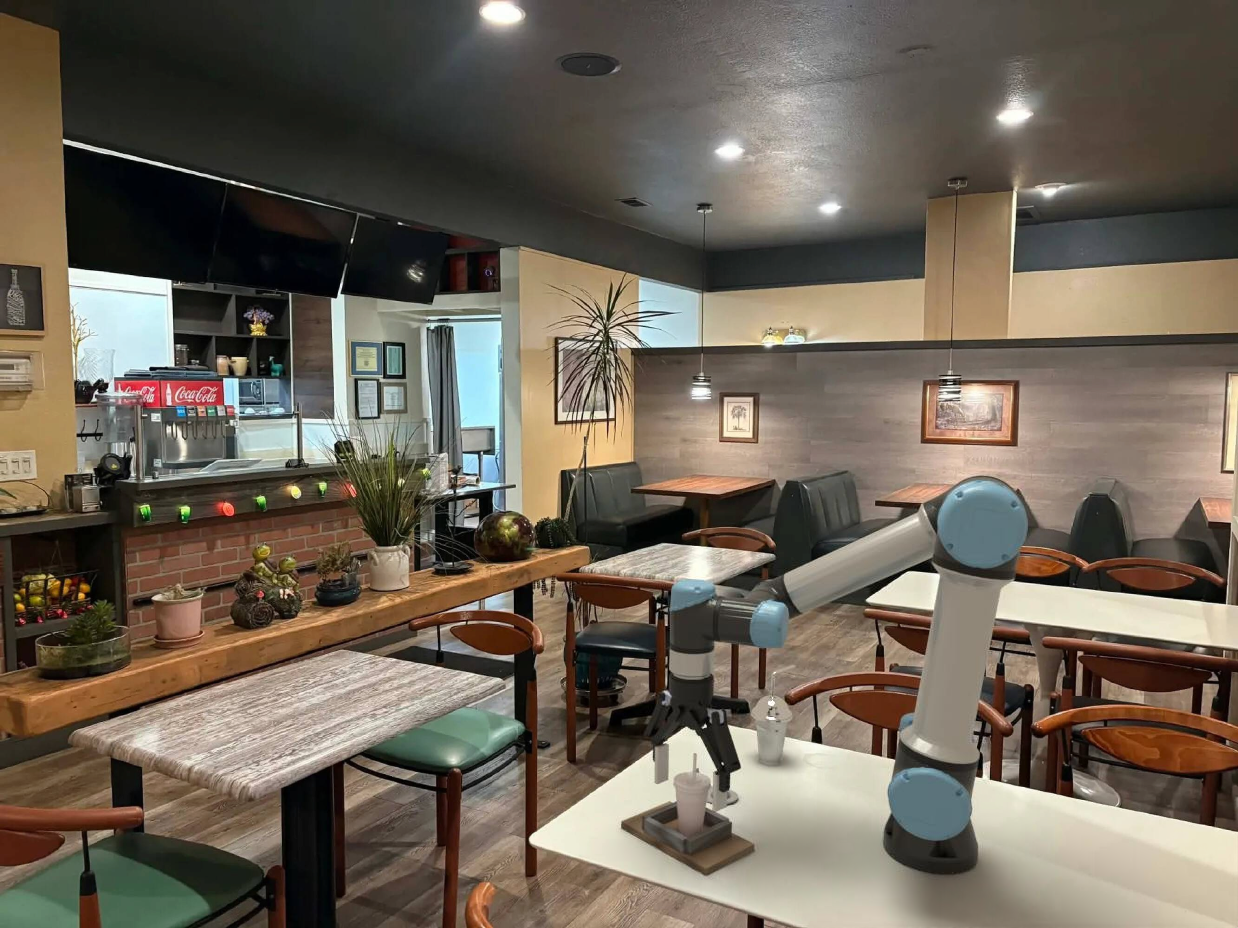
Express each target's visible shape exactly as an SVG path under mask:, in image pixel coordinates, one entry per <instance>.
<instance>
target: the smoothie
mask: <svg viewBox="0 0 1238 928" xmlns="http://www.w3.org/2000/svg"><path fill="white" fill-rule="evenodd" d="M697 756H698V755H697V753H696V752H695V753H693V758H692V771H693V772H692V771H685V772H679V773H678V774H676V775H675V776H673V784H672V785H673V787H674V789H675V799H676V801H677V811H678V822H679V833H680V834H682V835H684V836H686V837H690V836H692V835H695V834H697V833H699V832H701V831H702V828H703V822H704V815H705V809H706V807H707V804H708V803H707V797H708V790H709V789H710V788H711V786H712V784H711V783H712V780H711V779H710V777H709V776H707V775H705V774H704V773H700V772H699V773H697V772H696V768H697Z"/></svg>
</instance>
